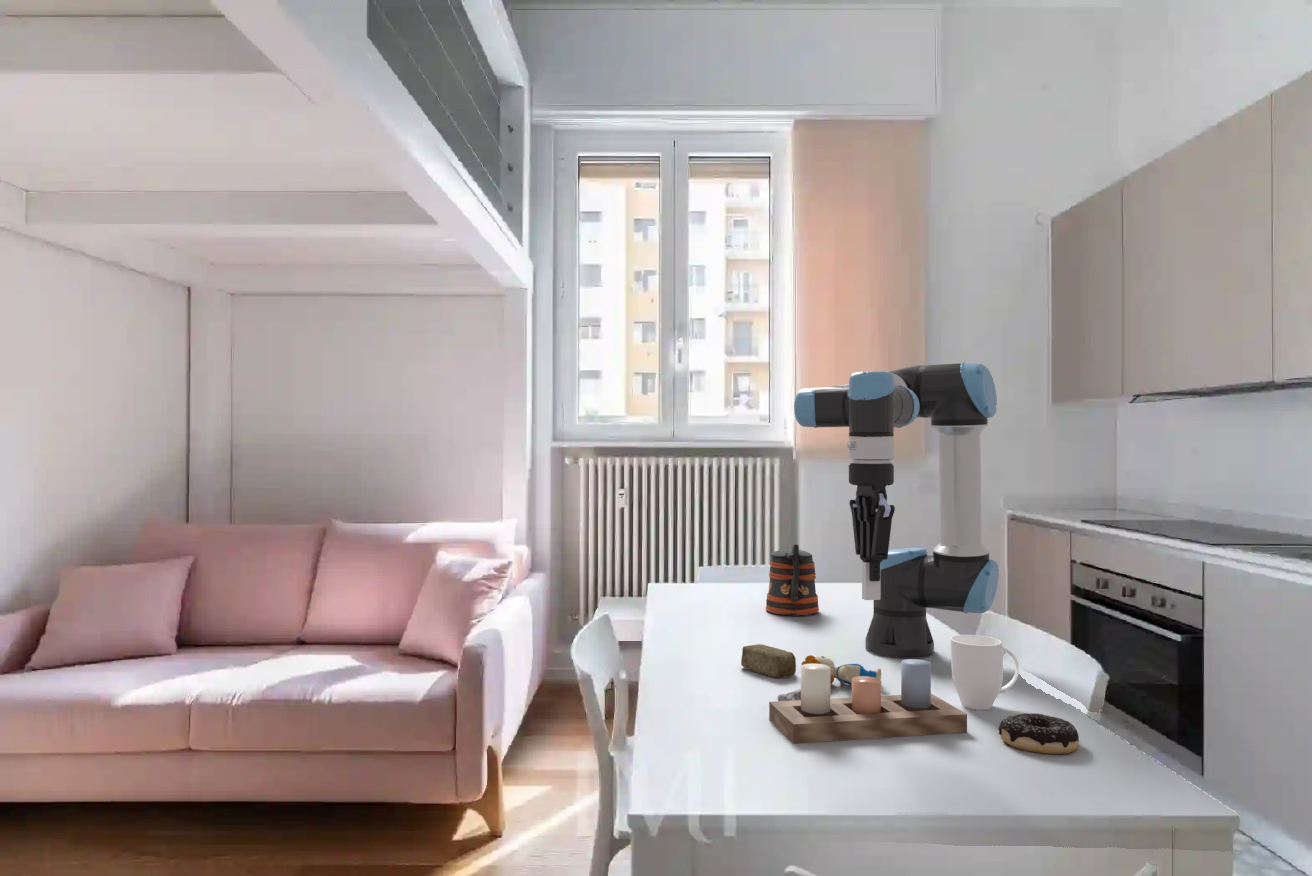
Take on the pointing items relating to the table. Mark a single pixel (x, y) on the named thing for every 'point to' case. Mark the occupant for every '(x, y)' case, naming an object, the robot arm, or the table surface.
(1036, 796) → the table surface
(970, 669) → the mug
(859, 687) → the cap terracotta
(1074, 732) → the donut
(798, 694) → the stone
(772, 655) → the stone block
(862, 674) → the toy
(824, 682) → the white rounded cylinder
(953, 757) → the table surface
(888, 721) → the wooden compartment tray
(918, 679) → the cap slate
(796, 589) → the beer stein
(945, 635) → the table surface
